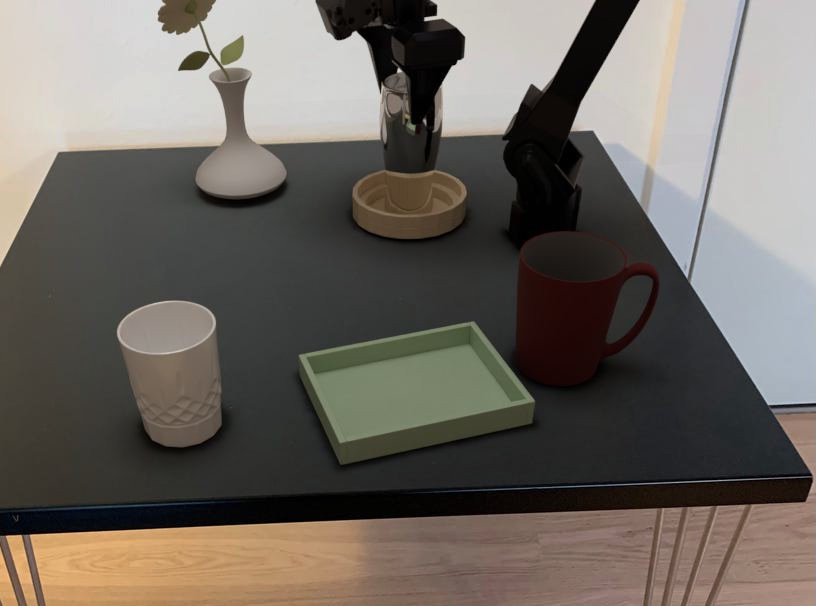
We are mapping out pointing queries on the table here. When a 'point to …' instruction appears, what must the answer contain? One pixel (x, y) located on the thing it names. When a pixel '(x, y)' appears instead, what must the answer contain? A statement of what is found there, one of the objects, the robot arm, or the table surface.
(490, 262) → the table surface
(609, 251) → the mug
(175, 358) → the white cup
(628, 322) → the table surface
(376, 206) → the round tan dish
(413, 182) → the polished metal tumbler
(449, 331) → the tray
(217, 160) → the flower in vase
